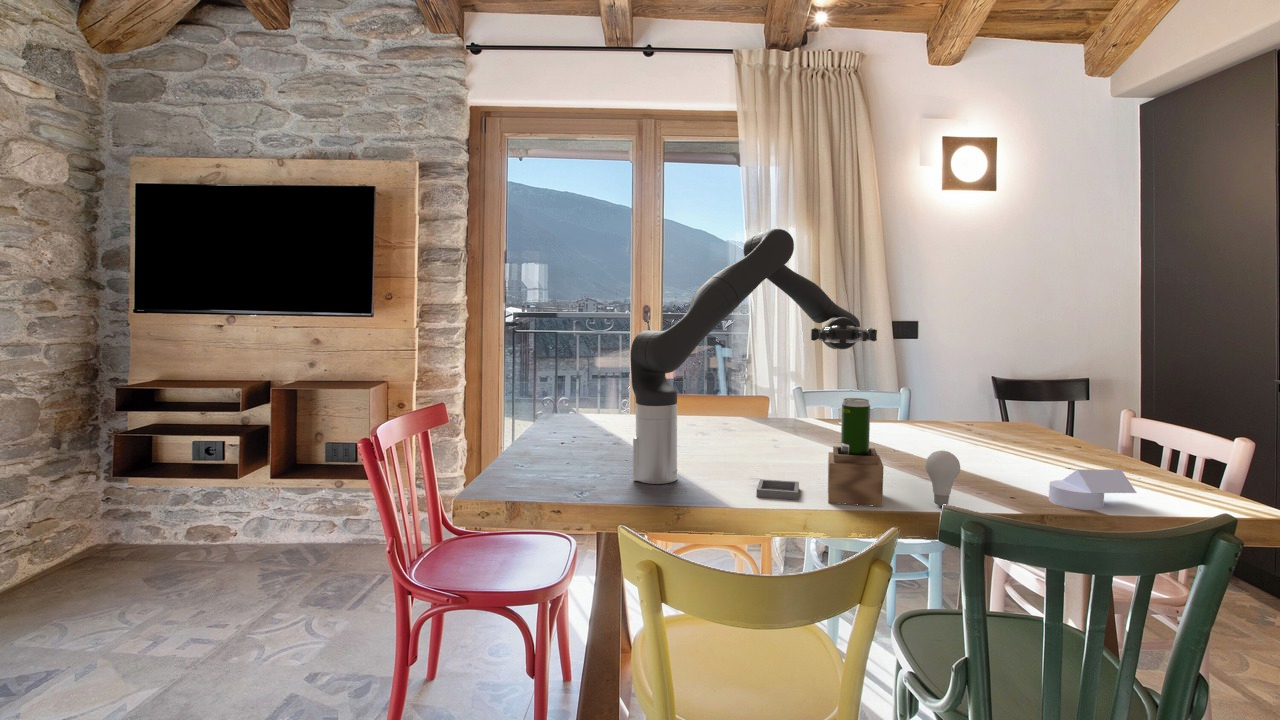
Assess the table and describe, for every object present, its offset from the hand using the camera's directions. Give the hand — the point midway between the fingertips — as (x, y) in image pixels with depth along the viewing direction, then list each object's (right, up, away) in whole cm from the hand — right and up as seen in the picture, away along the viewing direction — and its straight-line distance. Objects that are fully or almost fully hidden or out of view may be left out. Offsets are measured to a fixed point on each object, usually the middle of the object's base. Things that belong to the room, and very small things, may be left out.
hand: (844, 336), depth 146 cm
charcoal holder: (-16, -33, -7) cm, 37 cm away
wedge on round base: (+43, -34, -15) cm, 56 cm away
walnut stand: (-2, -33, -11) cm, 35 cm away
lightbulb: (+13, -34, -17) cm, 40 cm away
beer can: (-2, -25, -12) cm, 28 cm away
